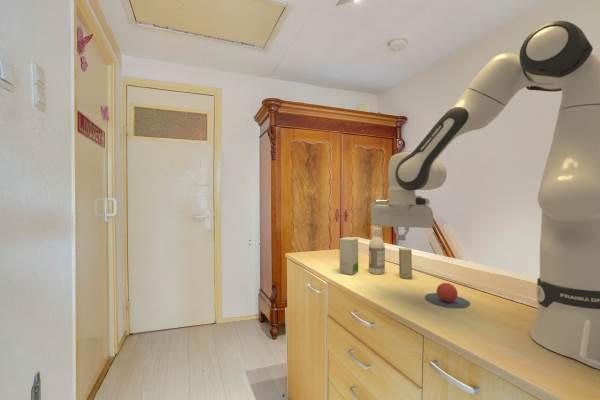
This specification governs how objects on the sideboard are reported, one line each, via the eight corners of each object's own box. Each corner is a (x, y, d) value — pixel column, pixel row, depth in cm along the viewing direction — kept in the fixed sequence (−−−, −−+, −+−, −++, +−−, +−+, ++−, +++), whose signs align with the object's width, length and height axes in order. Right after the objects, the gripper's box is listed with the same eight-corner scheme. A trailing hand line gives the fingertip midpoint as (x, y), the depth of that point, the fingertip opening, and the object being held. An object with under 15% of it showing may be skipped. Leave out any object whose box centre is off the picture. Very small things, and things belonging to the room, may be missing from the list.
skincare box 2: (412, 279, 115) (412, 250, 115) (400, 278, 115) (401, 249, 115) (409, 275, 121) (409, 247, 121) (398, 274, 122) (398, 247, 122)
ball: (453, 278, 91) (435, 283, 94) (450, 283, 86) (431, 288, 89) (462, 297, 89) (443, 300, 93) (459, 302, 85) (440, 306, 88)
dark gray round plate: (464, 296, 95) (464, 295, 95) (474, 310, 82) (474, 309, 82) (423, 291, 99) (423, 291, 99) (426, 304, 87) (426, 304, 87)
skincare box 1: (352, 275, 120) (352, 239, 120) (338, 273, 123) (338, 238, 123) (358, 271, 127) (359, 237, 127) (345, 269, 130) (345, 236, 130)
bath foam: (367, 270, 129) (367, 227, 129) (382, 270, 128) (382, 227, 128) (370, 274, 122) (370, 229, 122) (386, 274, 121) (386, 229, 121)
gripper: (369, 199, 96) (369, 239, 96) (434, 200, 89) (434, 243, 89) (371, 199, 102) (371, 237, 102) (432, 200, 95) (432, 240, 95)
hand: (401, 240), depth 95 cm, fingers closed
